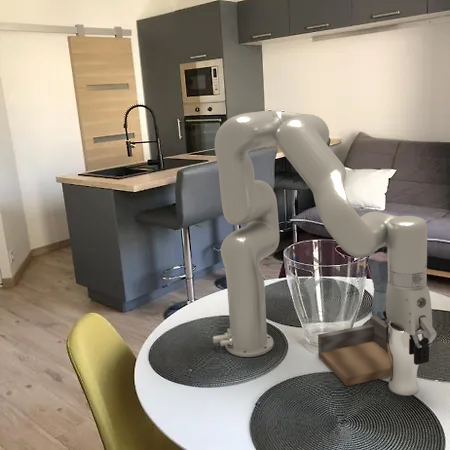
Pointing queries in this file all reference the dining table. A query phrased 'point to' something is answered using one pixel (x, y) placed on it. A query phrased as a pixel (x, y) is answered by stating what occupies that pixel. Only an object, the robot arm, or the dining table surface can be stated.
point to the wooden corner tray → (356, 352)
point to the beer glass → (402, 361)
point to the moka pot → (379, 280)
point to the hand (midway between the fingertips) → (406, 352)
